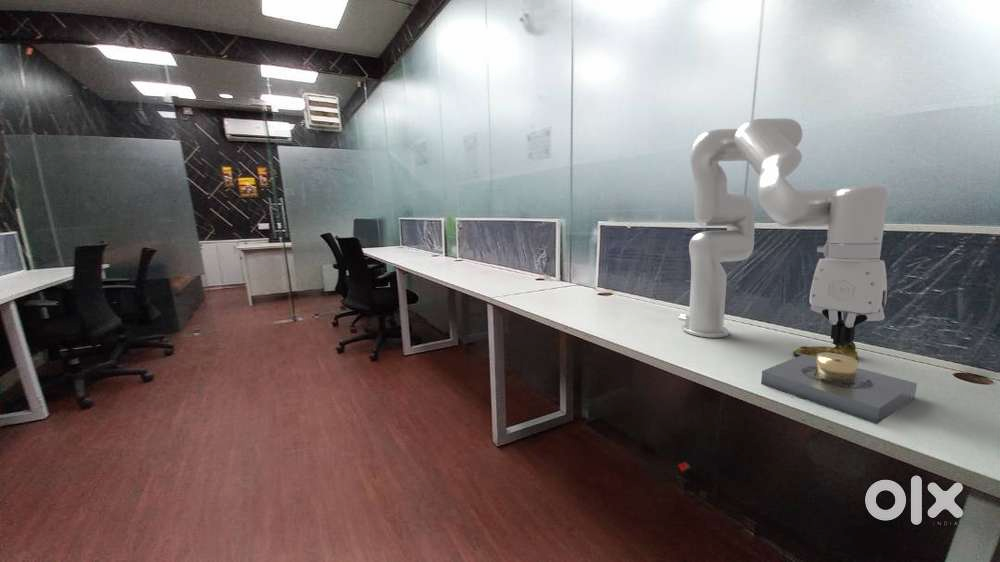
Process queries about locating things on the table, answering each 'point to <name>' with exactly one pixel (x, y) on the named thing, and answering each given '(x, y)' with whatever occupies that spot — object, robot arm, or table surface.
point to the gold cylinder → (836, 367)
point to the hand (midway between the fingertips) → (841, 344)
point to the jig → (841, 389)
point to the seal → (828, 350)
